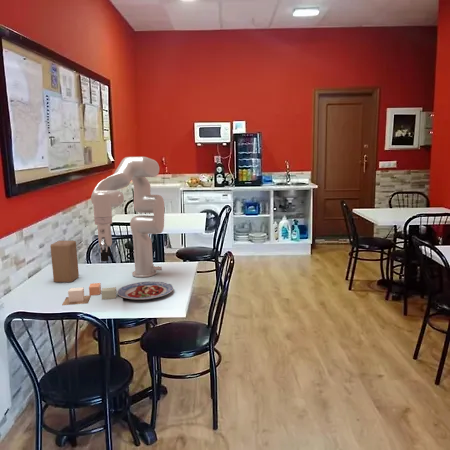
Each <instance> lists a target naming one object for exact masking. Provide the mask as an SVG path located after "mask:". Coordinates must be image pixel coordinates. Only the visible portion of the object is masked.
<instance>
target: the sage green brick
mask: <svg viewBox="0 0 450 450" xmlns="http://www.w3.org/2000/svg"><path fill="white" fill-rule="evenodd" d="M100 293H101V300H108V299H109V300H111V299H117V295H118V294H117V287H116V286H115V287H103V288H102V287H101V292H100Z"/></svg>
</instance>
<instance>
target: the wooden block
mask: <svg viewBox="0 0 450 450" xmlns="http://www.w3.org/2000/svg"><path fill="white" fill-rule="evenodd" d="M77 251H78V250H77V242H76V240H58V241H55V242H53V243H51V244H50V255H51V256H50V257H51V267H52V278H53V282H55V283H72V282H74V281H75V280H76V279H78V278H79V276H80V274H79V264H78V263H79V262H78V252H77Z"/></svg>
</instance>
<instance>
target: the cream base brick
mask: <svg viewBox="0 0 450 450" xmlns="http://www.w3.org/2000/svg"><path fill="white" fill-rule="evenodd" d="M67 295H68V296H67V297H69V302H81V301H84V298H85V297H84V296H85V288H84V287H71V288H69V289H68V290H67Z"/></svg>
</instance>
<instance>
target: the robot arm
mask: <svg viewBox="0 0 450 450" xmlns="http://www.w3.org/2000/svg"><path fill="white" fill-rule="evenodd" d="M159 173H160V166H159V163H158V162H157V161H156V160H155V159H153V158H150V157H147V156H125V157H124V158H122V159H121V161H120V163H119V165H118V166H117V168H116V169H115V171H114V173H113V174H111V175H109V176H107V177H106V178H104V179H102V180H101V181H99V182H97V184H96V185H95V187H94V188H93V191H92V193H91V197H90V201H91V203H92V205H93V218H94V219H93V220H94V225H95V226H97V238H98V246H99V247H100V261H101V262H109V259H110V258H109V257H111V256H112V255H111V253H112V251H111V247H112V244H113V237H112V227H111V225H112V224H113V213H112V208H117V207H120V206H121V205H122V204H123V203H124V198H125V197H124V194H123V193H122V191H120V189H124V188H126V187H127V186H129V185H130V183H131V181H132V184H133V209H134V211H135V212H137V213H140V214H141V213H143V214H142V215H135V216H132V218H131V219H130V222H129V224H130V225H129V226H130V230H131V234H132V241H133V243H132V244H133V257H134V259H133V260H134V271H133V272H131V273H132V276H133V277H134V278H135V277H136V278H149V277H153V276H155V275H157V271H162V270H163V269H162V266H157V265H156V266H154V261H153V260H154V259H153V244H152V239H151V237H150V235H159V234H162V233H163V231H164V228H165V199H164V197H163V196H161V195H159V194H152V193H151V183H150V182H149V180H148V179H147V178H155V177H157V176H158V175H159ZM144 214H153V215H144Z"/></svg>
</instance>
